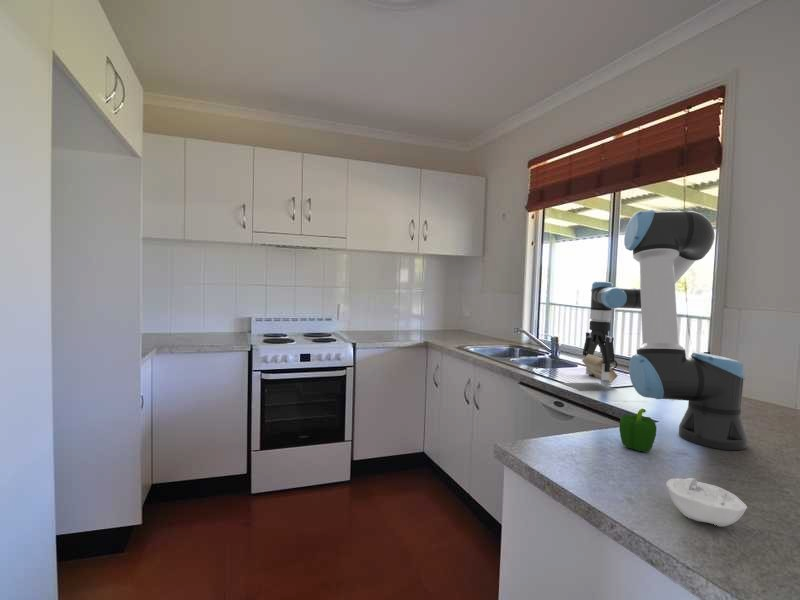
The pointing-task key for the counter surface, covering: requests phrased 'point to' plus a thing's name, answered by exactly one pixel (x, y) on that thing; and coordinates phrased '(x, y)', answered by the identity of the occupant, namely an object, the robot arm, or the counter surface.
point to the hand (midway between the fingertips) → (596, 376)
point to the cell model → (705, 501)
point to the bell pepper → (637, 431)
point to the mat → (588, 386)
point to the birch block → (598, 367)
